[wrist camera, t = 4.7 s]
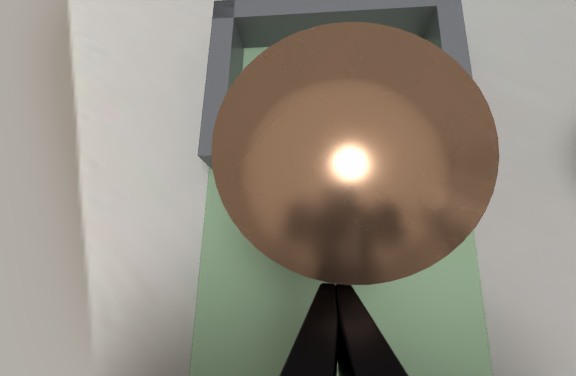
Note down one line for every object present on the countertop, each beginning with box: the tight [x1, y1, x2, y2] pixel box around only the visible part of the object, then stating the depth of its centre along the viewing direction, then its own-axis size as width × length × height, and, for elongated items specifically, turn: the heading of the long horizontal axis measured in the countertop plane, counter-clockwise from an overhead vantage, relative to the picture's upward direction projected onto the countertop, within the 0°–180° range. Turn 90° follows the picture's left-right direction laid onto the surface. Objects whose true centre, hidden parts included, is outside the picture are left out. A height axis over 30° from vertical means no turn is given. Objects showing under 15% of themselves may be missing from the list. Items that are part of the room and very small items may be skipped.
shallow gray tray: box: [198, 0, 473, 170], centre depth 16 cm, size 9×13×2 cm
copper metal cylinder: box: [211, 22, 499, 285], centre depth 12 cm, size 8×8×8 cm
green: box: [189, 47, 492, 376], centre depth 16 cm, size 22×14×1 cm, turn 179°
